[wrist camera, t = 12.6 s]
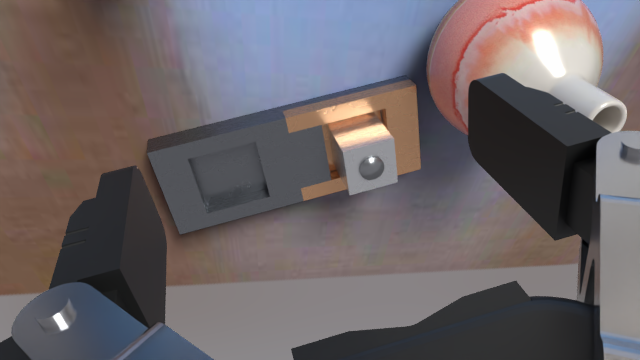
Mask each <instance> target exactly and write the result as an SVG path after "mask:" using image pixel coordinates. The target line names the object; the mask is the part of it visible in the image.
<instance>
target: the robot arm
mask: <svg viewBox="0 0 640 360" xmlns="http://www.w3.org/2000/svg"><path fill="white" fill-rule="evenodd" d="M468 142H469V147H470V150H471V153H472V155H473V157H474V159H475V160H476V161H477V162H478V163H479V165H480V166H481V167H482V168H483V169H484V170H485V171H486V172H487V173H488V174H489V175H490V176H491V177H492V178H493V179H494V180H495V181H496V182H497V183H498V184H499V185H500V186H501V187H502V188H503V189H504V190H505V191H506V192H507V193H508V194H509V195H510V196H511V197H512V198H513V199H514V200H515V201H516V202H517V203H518V204H519V205H520V206H521V207H522V208H523V209H524V210H525V211H526V212H527V213H528V214H529V215H530V216H531V217H532V218H533V219H534V220H535V221H536V222H537V223H538V224H539V225H540V226H541V227H542V228H543V229H544V230H545V231H546V232H547V233H548V234H549V235H550V236H551V237H552V238H553V239H554V240H559V239H562V238H565V237H569V236H572V235H576V234H578V235H579V236H580V237H581V243H580V249H579V264H578V284H577V285H578V286H577V301H576V300H571V299H566V298H558V297H546V296H544V297H543V296H533V297H529V296H528V295H527V294H526V293H525V291H524V290H523V289H522V288H521V286H520V285H519V284H518V283H517V281H513V282H510V283H507V284H503V285H500V286H497V287H493V288H490V289H487V290H484V291H480V292H477V293H474V294H470V295H468V296H464V297H462V298H460V299H458V300H456V301H455V302H453V303H451V304H450V305H448V306H446V307H444V308H443V309H441V310H439V311H438V312H436V313H434V314H433V315H431V316H429V317H427V318H426V319H424V320H422V321H421V322H419V323H417V324H415V325H412V326H407V327H396V328H384V329H372V330H360V331H349V332H345V333H342V334H339V335H335V336H332V337H329V338H325V339H322V340H319V341H316V342H313V343H309V344H306V345H302V346H299V347H296V348H292V349H291V350H292V354H293V358H294V360H640V131H620V132H614V133H612V132H610V131H608V130H607V129H605V128H604V127H602V126H600V125H599V124H597V123H596V122H594V121H592V120H591V119H589V118H588V117H586V116H584V115H583V114H581V113H580V112H575V109H573V108H572V107H570V106H569V105H567V104H563V102H562V101H561V100H559V99H557V98H556V97H554V96H553V95H551V94H549V93H547V92H544V91H541V90H537V89H534V88H530V87H525V86H523V85H522V84H520V83H519V82H517V81H516V80H514V79H513V78H511V77H510V76H508V75H507V74H505V73H499V74H496V75H492V76H488V77H484V78H480V79H476V80H473V81H472V82H471V83H470V85H469V89H468ZM166 253H167V243H166V236H165V231H164V227H163V224H162V221H161V218H160V216H159V214H158V211H157V209H156V207H155V204H154V202H153V200H152V197H151V195H150V192H149V190H148V188H147V185H146V183H145V181H144V178H143V176H142V174H141V172H140V170H139V168H138V167H137V166H131V167H127V168H123V169H119V170H115V171H111V172H107V173H104V174H102V175H101V178H100V182H99V186H98V190H97V195H96V198H93V199H89V200H86V201H83V202H82V204H81V205H80V206H79V207H78V208H77V210H76V211H75V212H74V213H73V214H72V215H71V217H70V219H69V223H68V226H67V229H66V236H64V240H63V243H62V249H61V250H60V253H59V257H58V260H57V263H56V267H55V270H54V274H53V277H52V281H51V284H50V287H49V290H47V291H45V292H43V293H42V294H40V295H39V296H37V297H36V298H34V299H33V300H32V301H30V302H29V303H28V304H27V305H26V306H25V307H24V308H23V309H22V310H21V311H20V313H19V314H18V316H17V317H16V319H15V321H14V323H13V326H12V332H11V334H12V336H11V337H10V338H8V339H6V340H4V341H2V342H1V343H0V360H214V359H212V358H211V357H210V356H208V355H207V354H206V353H204V352H203V351H201V350H200V349H199V348H197V347H196V346H194V345H193V344H192V343H190V342H189V341H187V340H186V339H184V338H183V337H182V336H180V335H179V334H178V333H176V332H175V331H173V330H172V329H171V328H169V327H168V326H166V325H165V295H166Z"/></svg>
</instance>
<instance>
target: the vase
mask: <svg viewBox="0 0 640 360" xmlns="http://www.w3.org/2000/svg"><path fill="white" fill-rule="evenodd" d="M602 65H603V44H602V37H601V34H600V31H599V28H598V25H597V22H596V20H595V18H594V17H593V15H592V13H591V12H590V10H589V9H588V7H587V6H586V5H585V4H584V3H583V2H582V1H581V0H458V1H457V2H456V3H455V4H454V5H453V6H452V7H451V8H450V9H449V11H448V12H447V13H446V15H445V16H444V17H443V19H442V20H441V22H440V24H439V25H438V27H437V29H436V31H435V33H434V35H433V38H432V40H431V43H430V47H429V51H428V57H427V66H426V69H427V81H428V86H429V91H430V94H431V96H432V99H433V101H434V103H435V105H436V106H437V108H438V109H439V111H440V113H441V114H442V115H443V116H444V117H445V118H446V120H447V121H448V122H449V123H450V124H451V125H453V126H454V127H455V128H457V129H458V130H460V131H461V132H463V133H464V134H466V135H468V89H469V85H470V83H471V82H472V81H473V80H476V79H480V78H484V77H488V76H492V75H496V74H499V73H505V74H507V75H508V76H510V77H511V78H513V79H514V80H516V81H517V82H519V83H520V84H522V85H523V86H525V87H530V88H534V89H537V90H541V91H544V92H547V93H549V94H551V95H553V96H554V97H556V98H557V99H559V100H561V101H562V102H563V104H567V105H569V106H570V107H572V108H573V109H575V112H580V113H581V114H583V115H584V116H586V117H588V118H589V119H591V120H592V121H594V122H596V123H597V124H599V125H600V126H602V127H604V128H605V129H607V130H608V131H610V132H612V133H614V132H619V131H620V130H621V129H622V127H623V125H624V123H625V121H626V117H627V109H626V107H625V105H624V104H623V103H622V102H621V101H619V100H618V99H616V98H614V97H613V96H611V95H609V94H608V93H606V92H604V91H603V90H601V89H599V88H597V85H598V82H599V79H600V75H601V71H602Z"/></svg>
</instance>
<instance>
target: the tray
mask: <svg viewBox="0 0 640 360" xmlns="http://www.w3.org/2000/svg"><path fill="white" fill-rule="evenodd" d="M371 112H374V113H375V115H376V116H377V117H378V119H379V120H380V121H381V122H382V124H383V125H384V126H385V128H386V129H387V130H388V131H389V133H390V134H391V135H392V137H393V138H394V143H395V154H396V166H397V175H401V174H405V173H408V172H412V171H416V170H419V169H421V161H420V144H419V126H418V108H417V91H416V85H415V84H414V83H413V82H412V81H411V80H410V79H409V78H408V77H407V76H406V75H405V76H401V77H397V78H393V79H389V80H385V81H381V82H377V83H373V84H369V85H365V86H361V87H357V88H353V89H349V90H345V91H341V92H337V93H333V94H329V95H325V96H321V97H317V98H313V99H309V100H305V101H301V102H297V103H293V104H289V105H285V106H281V107H277V108H273V109H269V110H265V111H261V112H257V113H253V114H249V115H245V116H241V117H237V118H233V119H229V120H225V121H221V122H217V123H213V124H209V125H205V126H201V127H197V128H193V129H189V130H185V131H181V132H177V133H173V134H169V135H165V136H161V137H157V138H153V139H149V140H148V148H147V154H148V157H149V159H150V162H151V164H152V167H153V169H154V172H155V174H156V177H157V179H158V182H159V184H160V187H161V189H162V191H163V194H164V196H165V199H166V201H167V204H168V206H169V209H170V211H171V214H172V216H173V219H174V221H175V224H176V226H177V228H178V231H179V233H180V234H184V233H188V232H191V231H195V230H199V229H202V228H206V227H210V226H213V225H217V224H221V223H224V222H228V221H232V220H235V219H239V218H243V217H246V216H250V215H254V214H258V213H261V212H265V211H269V210H272V209H276V208H280V207H283V206H287V205H291V204H294V203H298V202H302V201H305V200H309V199H313V198H316V197H320V196H324V195H327V194H331V193H335V192H339V191H342V190H346V188H345V186H344V184H343V182H342V180H341V178H340V176H339V174H338V172H337V170H336V168H335V166H334V163H333V158H332V152H331V146H330V140H329V134H328V128H327V124H328V123H332V122H336V121H340V120H344V119H348V118H352V117H355V116H359V115H363V114H367V113H371Z"/></svg>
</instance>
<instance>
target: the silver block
mask: <svg viewBox="0 0 640 360" xmlns="http://www.w3.org/2000/svg"><path fill="white" fill-rule="evenodd" d="M327 128H328V134H329V140H330V146H331V152H332V158H333V163H334V166H335V168H336V170H337V172H338V174H339V176H340V178H341V180H342V182H343V184H344V186H345V188H346V189H347V191H348V193H349V195H353V194H357V193H360V192H364V191H368V190H371V189H375V188H379V187H382V186H386V185H390V184H393V183H397V182H398V177H397V166H396V154H395V143H394V138H393V137H392V135H391V134H390V133H389V131H388V130H387V129H386V128H385V126H384V125H383V124H382V122H381V121H380V120H379V119H378V117H377V116H376V115H375V113H374V112H371V113H367V114H363V115H359V116H355V117H352V118H348V119H344V120H340V121H336V122H332V123H328V124H327Z"/></svg>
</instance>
